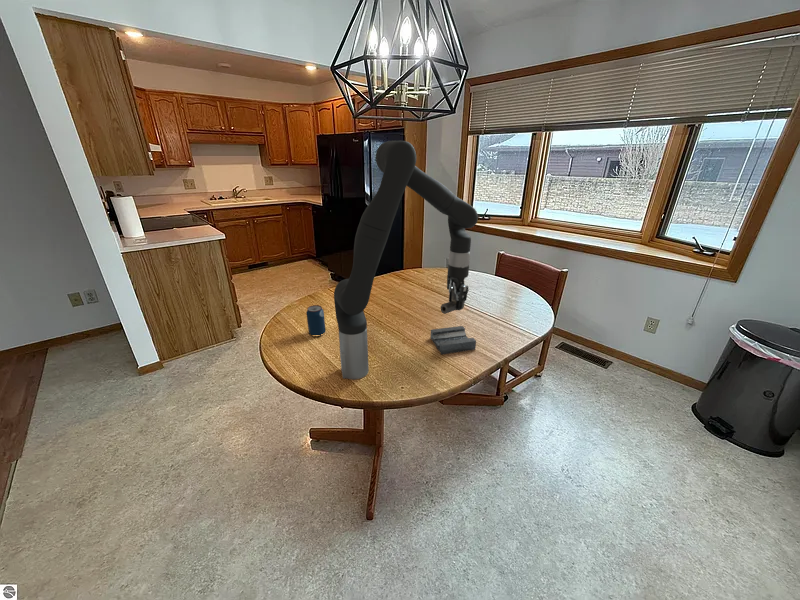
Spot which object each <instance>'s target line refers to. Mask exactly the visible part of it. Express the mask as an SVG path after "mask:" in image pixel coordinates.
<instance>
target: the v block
mask: <svg viewBox="0 0 800 600" xmlns="http://www.w3.org/2000/svg"><path fill="white" fill-rule="evenodd" d="M430 340H431V341H432V342H433V344H434V346H435V347H436V349H437V350H438V351H439V353H440V355H446V354H447V355H449V354H454V353H462V352H469V351H475V350H476V345H477V340H476V339H475V338H474V337H468V336H467V333H466V328H465V326H463V325H459V326H458V325H457V326H450V327H442V328H435V329H434V328H432V329H430Z"/></svg>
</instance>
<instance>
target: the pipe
mask: <svg viewBox="0 0 800 600" xmlns="http://www.w3.org/2000/svg"><path fill="white" fill-rule="evenodd" d="M469 290H470V289H469V288H468V292H469ZM457 292H460V291H457ZM456 300H457V298H456V294H455V292H454V289H453V288H452V299H451V302H449V301H448V302H444V303H442V304H441V305H440V312H441V314H444V315H445V314H449V313H451V312H454V311H458V310H457V309H456ZM465 302H466V301H463V303H462V309H460V310H459V311H461V310H463V309H464V308H465Z"/></svg>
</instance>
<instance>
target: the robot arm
mask: <svg viewBox="0 0 800 600" xmlns="http://www.w3.org/2000/svg"><path fill="white" fill-rule="evenodd" d="M375 162H376V166H377V167H378V169H379V170H380V171H381V172H382V173H383V174H382V177H381V181H380V184H379V187H378V190H377V191H376V193H375V194H374V196H373V198H372V199H371V201H370V202H369V204H368V205H367V206H366V208H365V209H364V211H363V213H362V215H361V218H360V220H359V224H358V226H357V228H356V233H355V237H354V243H353V260H352V261H353V263H352V267H351V268H352V269H351V271H350V276H349V277H348V278H345V279H342V280H340V281H339V282H338V283H337V284H336V285H335V287H334V292H333V299H334V301H333V302H334V311H335V319H336V322H337V327H338V339H339V354H340V355H339V356H340V357H339V358H340V368H341V375H342V379H348V380H359V379H363V378H364V377H366V376H367V375H368V373H369V369H370V368H369V347H368V346H369V345H368V343H369V342H368V322H367V318H366V315H365V309H366V308H367V306H368V305H369V302H370V299H371V298H370V297H371V293H372V288H373V285H374V280H375V276H376V274H377V273H376V272H377V270H378V267H379V264H380V260H381V258H382V256H383V253H384V250H385V247H386V244H387V242H388V239H389V235H390V232H391V229H392V226H393V222H394V219H395V217H396V215H397V212H398V209H399V206H400V202H401V200H402V197H403V195H404V192H405V191H406V188H410V189H411V190H412V191H413V192H414V193H416V194H417V195H419V196H420V197H421V198H423V199H424V200H425V201H426V202H427V203H428V204H430V205H431V206H432V207H433V208H434V209H436V210H437V211H438V212H439V213H441V214H442V215H445V216H447V225H448V230H449V236H450V243H449V244H450V246H449V253H448V262H447V275H446V276H447V277H446V288H447V290H448V294H449V295H448V302H451V299H452V288H453V289H454V292H455V294H456V298H457V300H456V309H457V310H456V311H461V310H460V309H462V303H463V301H465V302H466V301H467V297H468V292H469V291H468V289H469V286H468V285H465V279H466V278H468V277H469V273H470V263H471V262H470V261H471V245H472V244H471V243H472V238H471V236H470V235H469V234H468V233H467V231H466V229H471V228H473V227H475V226H476V225H477V223H478V220H479V214H478V212H477V210H476V208H475V207H473V206H472V205H471V204H470V203H468V202H466V201H465V200H463V199H461V198H459V197H458V196H457V195H456V194H455V193H453V191H451V189H449V188H448V187H447V186H446V185H444V184H443V183H442V182H440V181H439V180H437V179H436V178H434V177H433V176H431V175H429V174H427V173H426V172H424V171H423V170H421V169H420V168H419V167H418V166H416V163H417V153H416V149H415V147H414V145H413V144H412V143H411V142H409V141H406V140H388V141H385V142H383V143H381V144H380V145H379V146H378V148H377V149H376V151H375ZM457 291H460V292H457ZM462 310H463V309H462Z"/></svg>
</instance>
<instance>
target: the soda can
mask: <svg viewBox="0 0 800 600" xmlns="http://www.w3.org/2000/svg"><path fill="white" fill-rule="evenodd" d="M324 311H325V310H324V309H323V307H322V305H319V304H318V305H317V304H315V305H311V306H308V307H307V310H306V321H307V329H308V330H307V331H308V334H309V335H310V334H311V335H321V334H323V333H324V334H325V333H326V331H327V330H326V320H325V312H324ZM311 335H310V336H311Z"/></svg>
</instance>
